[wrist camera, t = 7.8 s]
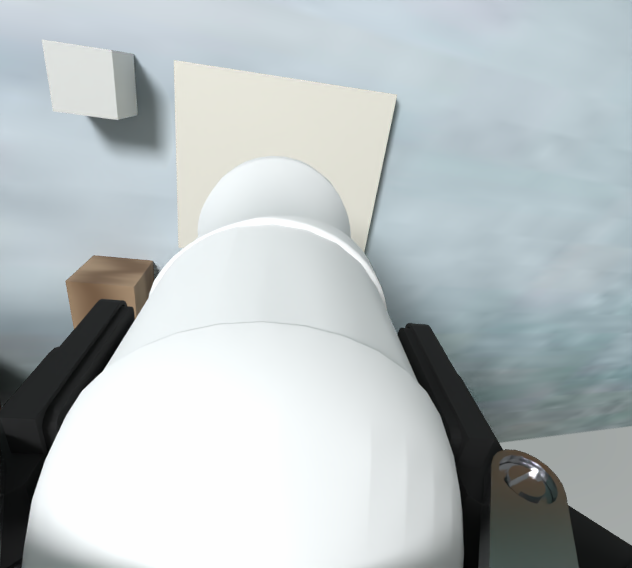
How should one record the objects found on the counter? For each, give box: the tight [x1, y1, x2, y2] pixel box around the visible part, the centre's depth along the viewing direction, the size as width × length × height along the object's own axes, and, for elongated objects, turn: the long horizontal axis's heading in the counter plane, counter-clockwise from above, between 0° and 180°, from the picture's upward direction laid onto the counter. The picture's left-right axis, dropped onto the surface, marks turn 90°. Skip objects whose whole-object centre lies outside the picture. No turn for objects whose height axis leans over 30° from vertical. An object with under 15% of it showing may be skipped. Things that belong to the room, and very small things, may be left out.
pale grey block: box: [42, 40, 138, 120], centre depth 26 cm, size 4×4×4 cm
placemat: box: [174, 60, 397, 252], centre depth 32 cm, size 16×14×1 cm
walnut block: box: [66, 255, 154, 329], centre depth 33 cm, size 5×5×5 cm
